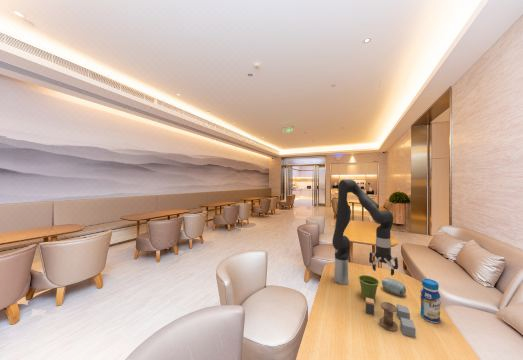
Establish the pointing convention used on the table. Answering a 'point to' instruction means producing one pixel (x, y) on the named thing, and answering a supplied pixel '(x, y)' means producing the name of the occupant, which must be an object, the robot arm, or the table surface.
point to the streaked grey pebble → (394, 286)
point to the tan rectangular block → (369, 306)
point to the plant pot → (368, 286)
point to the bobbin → (388, 316)
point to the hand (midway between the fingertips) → (383, 272)
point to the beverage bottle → (430, 301)
